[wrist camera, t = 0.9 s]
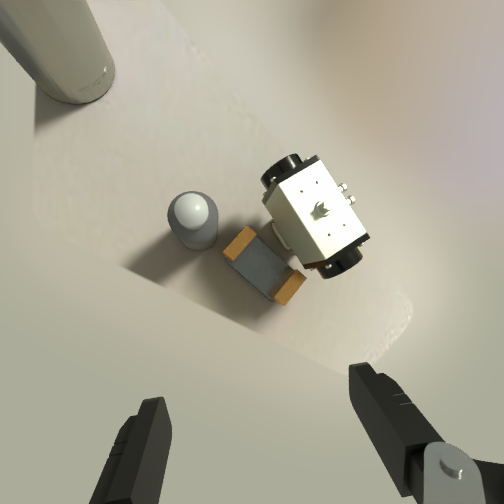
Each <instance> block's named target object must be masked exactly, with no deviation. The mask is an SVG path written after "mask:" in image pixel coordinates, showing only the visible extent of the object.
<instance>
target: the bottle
mask: <svg viewBox="0 0 504 504" xmlns="http://www.w3.org/2000/svg"><path fill="white" fill-rule="evenodd" d="M167 217H168V222H169V225H170V227H171V229H172V230H173V231H174V233H175V234H176V235H177V236H178V238H179V239H180V240H181V241H182V243H183V244H184V245H185V246H186V247H188V248H189V249H192V250H195V251H202V250H205V249H208V248H209V247H211V246H212V245H213V244H214V242H215V241H216V239H217V235H218V209H217V207H216V204H215V203H214V201H213V200H212V199H211V198H210V197H209V196H207V195H205V194H203V193H201V192H196V191H189V192H185V193H182V194H180V195H178V196H177V197H176V198H175V199H174V200H173V201H172V202H171V204H170V206H169V209H168V214H167Z"/></svg>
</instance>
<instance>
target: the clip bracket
mask: <svg viewBox="0 0 504 504" xmlns="http://www.w3.org/2000/svg"><path fill="white" fill-rule="evenodd" d="M256 235H257V234H256V233H255V232H254V231H253V230H252V229H251V228H250V227H249V226H246V227H245V228H244V229H243V230H242V231H241V232H240V233H239V234H238V236H237V237H236V238H235V239H234V240H233V241H232V242H231V243H230V244H229V246H228V247H227V248H226V249H225V250H224V251H223V255H224V256H225V257H226V258H227V259H226V260H225V261H226V262H227V263H228V264H229V265H231V266H232V267H233V268H234V269H235V270H236V271H237V272H238V273H240V274H241V275H242V276H243V277H244V278H245V279H246V280H248V281H249V282H250V283H251V284H252V285H253V286H254V287H256V288H257V289H258V290H259V291H260V292H261V293H262V294H264V295H265V296H266V297H267V298H268V299H269V300H270V301H272V302H273V301H274V300H275V301H276V302H278V303H279V304H281V305H284V306H285V305H286V303H287V302H288V301H289V300H290V298H291V297H292V296H293V295H294V294H295V292H296V291H297V290H298V289H299V287H300V286H301V285H302V284H303V282H304V281H305V280H306V279H307V278H306V277H305V276H304V275H303V274H302V273H301V272H299V271H298V270H297V269H296V270H293V269H292V268H291V267H290V266H289V265H288V264H286V263H285V262H284V261H283V260H282V259H281V258H280V257H279V256H277V255H276V254H275V253H274V252H273V251H272V250H271V249H270V248H268V247H267V246H266V245H265V244H264V243H263V242H262V241H261V240H259V239H258V238H257V237H256Z"/></svg>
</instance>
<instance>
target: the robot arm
mask: <svg viewBox="0 0 504 504" xmlns="http://www.w3.org/2000/svg"><path fill="white" fill-rule="evenodd" d="M0 42H1V43H2V45H3V46H4V47H5V48H6V49H7V50H8V51H9V53H10V54H11V55H12V56H13V57H14V58H15V59H16V61H17V62H18V63H19V64H20V65H21V66H22V67H23V69H24V70H25V71H26V72H27V73H28V74H29V75H30V76H31V77H32V79H33V80H34V81H35V82H36V83H37V84H38V85H39V86H40V88H41V89H42V90H43V91H44V92H46V93H47V94H48V95H49V96H51V97H53V98H54V99H56V100H59V101H62V102H65V103H71V104H82V103H87V102H91V101H93V100H95V99H98V98H99V97H101V96H102V95H104V94H105V93H106V92H107V90H108V89H109V88H110V86H111V85H112V83H113V80H114V77H115V66H114V61H113V59H112V57H111V55H110V52H109V50H108V48H107V46H106V43H105V41H104V39H103V37H102V35H101V32H100V30H99V28H98V25H97V23H96V21H95V19H94V17H93V15H92V12H91V10H90V8H89V6H88V4H87V1H86V0H0ZM349 395H350V400H351V403H352V406H353V408H354V410H355V412H356V414H357V415H358V417H359V419H360V421H361V423H362V424H363V426H364V428H365V430H366V432H367V434H368V436H369V438H370V439H371V441H372V443H373V445H374V447H375V449H376V450H377V452H378V454H379V456H380V458H381V460H382V462H383V463H384V465H385V467H386V469H387V471H388V472H389V474H390V476H391V478H392V480H393V482H394V484H395V486H396V487H397V489H398V491H399V493H400V495H401V497H407V496H412V495H413V497H414V499H415V500H416V502H417V504H504V464H498V463H492V462H485V461H479V460H475V459H472V458H470V457H469V456H468V455H467V454H466V453H465V452H463V451H462V450H461V449H459V448H457V447H455V446H453V445H451V444H448V443H445V441H444V440H443V439H442V438H441V437H440V435H439V434H438V433H437V432H436V430H435V429H434V428H433V427H432V426H431V424H430V423H429V422H428V421H427V420H426V418H425V417H424V416H423V414H422V413H421V412H420V411H419V410H418V408H417V407H416V406H415V405H414V404H413V403H412V401H411V400H410V399H409V397H408V396H407V395H406V394H405V393H404V391H403V390H402V389H401V387H400V386H399V385H398V384H397V383H396V381H394V380H393V379H391V378H390V377H389V376H387V375H386V374H384V373H379V374H376V372H375V371H374V370H373V368H372V367H371V365H370V364H369V363H367V362H364V363H358V364H352V365H349ZM171 439H172V425H171V421H170V418H169V414H168V411H167V407H166V403H165V400H164V398H163V397H157V398H151V399H145V400H143V402H142V404H141V406H140V409H139V412H138V415H136V416H130V417H129V418H128V420H127V421H126V422H125V423H124V425H123V426H122V427H121V429H120V430H119V433H118V435H117V438H116V440H115V442H114V446H113V447H112V449H111V452H110V454H109V458H108V459H107V461H106V464H105V466H104V469H103V471H102V474H101V476H100V478H99V481H98V484H97V486H96V488H95V490H94V493H93V495H92V498H91V500H90V502H89V504H158V503H159V498H160V493H161V488H162V483H163V479H164V474H165V469H166V464H167V459H168V455H169V449H170V445H171Z"/></svg>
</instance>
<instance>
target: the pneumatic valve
mask: <svg viewBox="0 0 504 504" xmlns="http://www.w3.org/2000/svg"><path fill="white" fill-rule="evenodd" d="M261 182H262V184H263V185H264V187H265V188H266V190H267V192H265V193H263V195H264V197H263V199H262V202H263V204H264V205H265V207H266V208H267V210H268V212H269V213H270V215H271V216H272V218H273V219H274V221H275V222H273V223H272V226H273V228H272V229H273V231H274V233H275V234H276V236H277V237H278V239H279V240H280V242H281V244H282V245H283V247H284V248H285V249H287V250H290V249H291V248H292V249H293V251H294V253H295V254H296V256H297V257H298V259H299V260H300V262H301V264H302V265H303V267H304V268H305V269H310V270H311V271H312V270H314V269H317V270H318V272H319V273H320V275H321V277H322V278H323V279H329V278H332V277H335V276H337V275H339V274H341V273H343V272H345V271H347V270H348V269H350V268H352V267H353V266H354V265H356V264H357V263H358V262H359V261H360V260H361V259H362V258H363V256H362V254H361V252H360V251H359V249H358V248H357V247H358V246H359V247H360V246H362V245H364V244H365V243H364V242H365V241H366V240H368V239H369V238H370V237H369V235H368V234H367V232H366V231H365V229H364V227H363V226H362V224H361V223H360V221H359V220H358V218H357V216H356V215H355V213H354V212H353V210H352V209H351V207H350V205H352V204H354V203H355V199H354V197H353V196H348V197H347V198H344V196H343V195H342V192H345V191H346V190H347V186H346V185H345V184H343V183H342V184H340V185H339V186H337V185H336V184H335V182H334V181H333V179H332V178H331V176H330V175H329V173H328V171H327V170H326V168H325V167H324V165H323V164H322V162H321V161H320V159H319V157H318V156H317V155H315V156H313V157H311V158H307V159H305V161H304V162H302V161H301V159H300V157H299V156H298V155H297V154H291V155H289V156H287V157H285V158H283V159H281V160H280V161H278V162H277V163H275V164H274V165H273V166H271V167H270V168H269V169H268V170H267V171H266V172H265V173H264V174H263V175H262V177H261Z"/></svg>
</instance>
